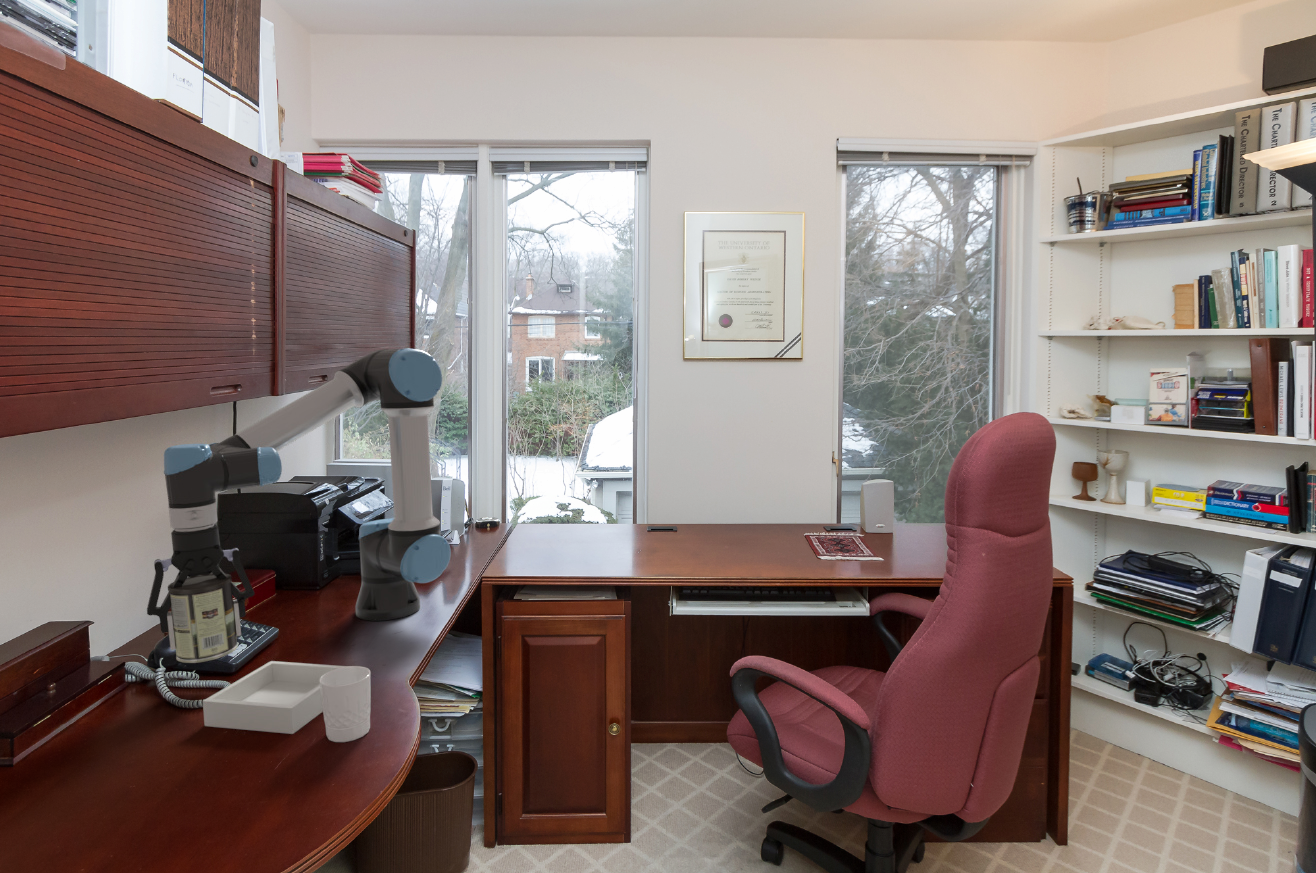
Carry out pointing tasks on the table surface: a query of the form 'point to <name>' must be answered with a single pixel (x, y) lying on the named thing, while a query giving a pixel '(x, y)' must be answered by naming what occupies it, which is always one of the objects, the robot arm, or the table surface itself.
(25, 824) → the table surface
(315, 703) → the tray
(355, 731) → the white cup
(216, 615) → the coffee can
